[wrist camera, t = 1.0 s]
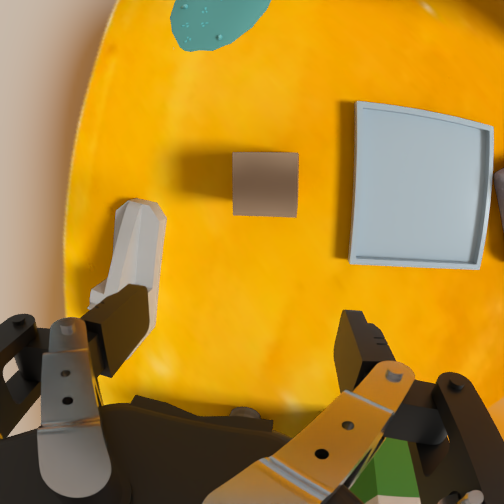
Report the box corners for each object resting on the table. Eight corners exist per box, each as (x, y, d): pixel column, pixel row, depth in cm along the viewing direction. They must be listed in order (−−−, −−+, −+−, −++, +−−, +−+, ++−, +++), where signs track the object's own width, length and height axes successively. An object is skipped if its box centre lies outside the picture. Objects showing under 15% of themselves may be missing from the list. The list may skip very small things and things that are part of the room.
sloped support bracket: (169, 205, 33) (132, 220, 25) (155, 337, 39) (127, 373, 31) (126, 195, 33) (84, 207, 26) (119, 324, 39) (88, 355, 32)
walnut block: (248, 153, 30) (232, 152, 23) (298, 154, 29) (297, 152, 22) (248, 202, 31) (233, 215, 24) (297, 204, 30) (296, 217, 24)
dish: (354, 103, 26) (356, 100, 25) (487, 127, 24) (493, 126, 22) (347, 259, 31) (349, 264, 30) (474, 265, 29) (479, 269, 27)
